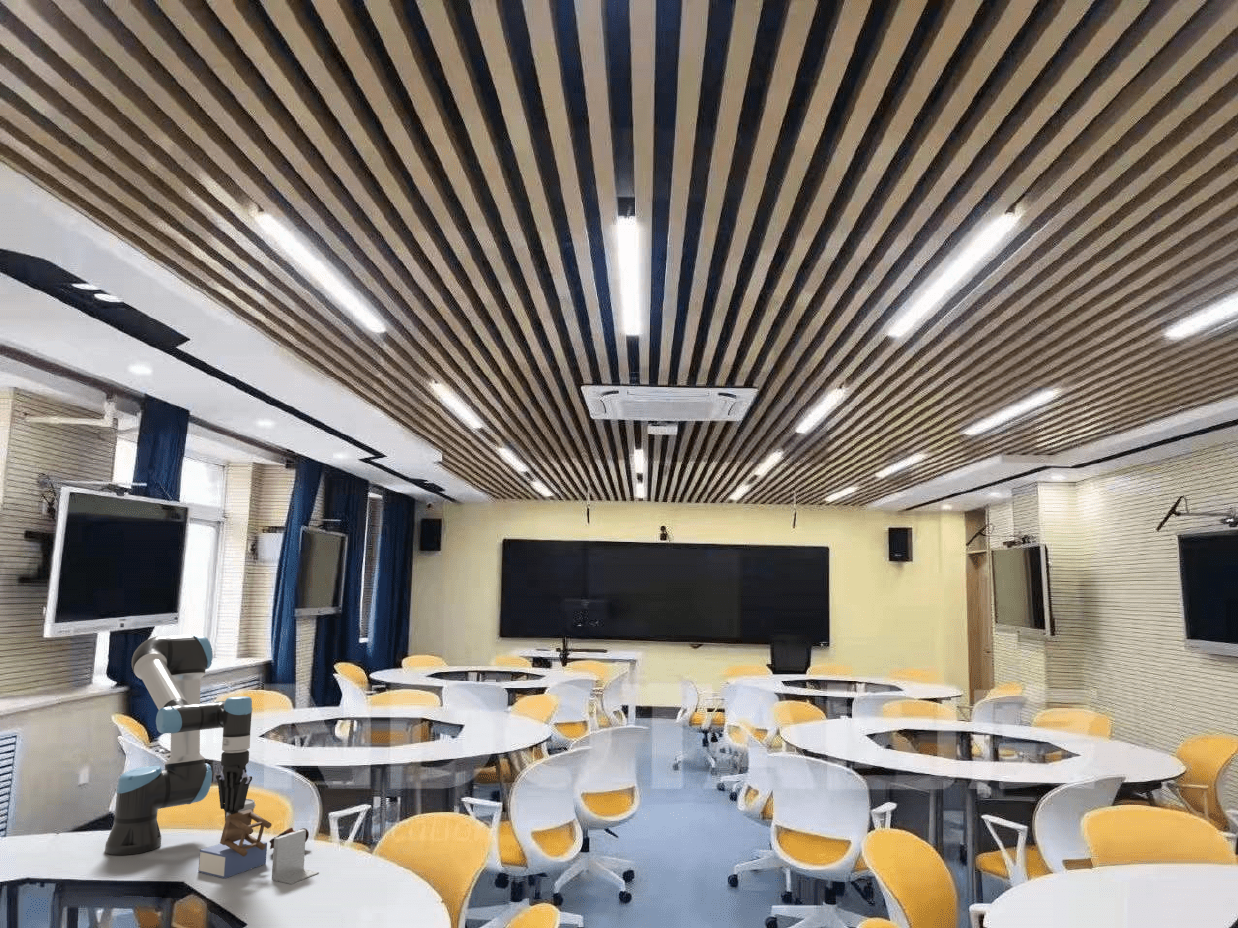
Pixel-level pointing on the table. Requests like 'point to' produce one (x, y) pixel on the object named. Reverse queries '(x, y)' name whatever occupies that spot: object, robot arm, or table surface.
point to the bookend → (290, 858)
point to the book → (230, 859)
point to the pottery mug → (287, 833)
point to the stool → (243, 831)
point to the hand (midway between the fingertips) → (230, 835)
